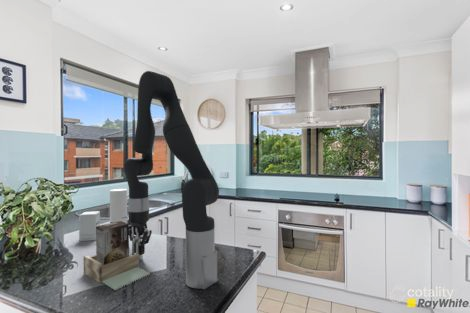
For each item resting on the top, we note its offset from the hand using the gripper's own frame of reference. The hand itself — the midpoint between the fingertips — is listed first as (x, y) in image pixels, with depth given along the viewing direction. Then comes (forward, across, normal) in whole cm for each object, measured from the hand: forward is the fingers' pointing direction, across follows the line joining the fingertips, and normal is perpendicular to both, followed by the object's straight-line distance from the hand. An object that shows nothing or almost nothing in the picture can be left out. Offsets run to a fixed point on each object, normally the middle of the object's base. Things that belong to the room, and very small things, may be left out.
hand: (139, 253), depth 97 cm
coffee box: (+3, 0, +10) cm, 11 cm away
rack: (+3, 0, +10) cm, 11 cm away
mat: (+3, -10, +11) cm, 15 cm away
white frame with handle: (+2, 0, +7) cm, 8 cm away
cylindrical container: (+3, +23, -4) cm, 23 cm away
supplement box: (+3, +43, 0) cm, 43 cm away
